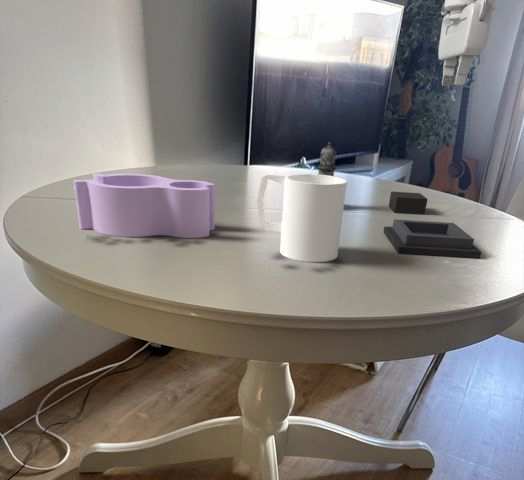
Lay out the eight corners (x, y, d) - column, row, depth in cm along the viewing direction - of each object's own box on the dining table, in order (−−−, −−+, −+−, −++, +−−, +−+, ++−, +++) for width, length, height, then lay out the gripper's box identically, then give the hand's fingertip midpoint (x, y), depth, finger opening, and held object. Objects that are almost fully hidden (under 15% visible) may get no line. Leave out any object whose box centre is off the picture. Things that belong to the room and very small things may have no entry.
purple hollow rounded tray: (219, 223, 80) (220, 180, 77) (202, 243, 69) (202, 194, 66) (105, 213, 82) (100, 171, 79) (70, 232, 71) (64, 183, 68)
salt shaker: (315, 201, 100) (321, 139, 94) (341, 206, 97) (349, 142, 92) (303, 206, 95) (308, 141, 90) (330, 211, 93) (337, 144, 87)
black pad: (417, 207, 100) (420, 193, 98) (424, 214, 94) (427, 198, 93) (388, 206, 100) (390, 191, 98) (394, 212, 94) (396, 197, 93)
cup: (263, 238, 73) (266, 169, 68) (341, 248, 70) (350, 177, 66) (246, 253, 66) (249, 177, 61) (332, 265, 64) (342, 186, 59)
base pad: (454, 236, 80) (458, 221, 79) (480, 258, 70) (484, 241, 69) (383, 232, 80) (385, 217, 79) (397, 253, 70) (401, 236, 69)
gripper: (509, -13, 77) (485, 86, 83) (473, 7, 95) (455, 87, 101) (469, -15, 77) (449, 83, 84) (440, 5, 95) (425, 85, 102)
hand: (452, 85), depth 93 cm, fingers open, 8 cm apart
